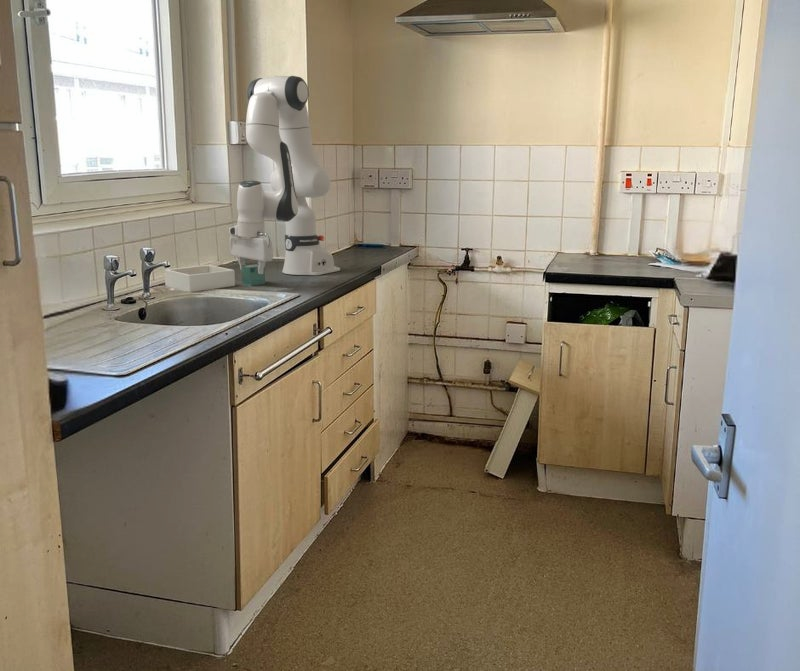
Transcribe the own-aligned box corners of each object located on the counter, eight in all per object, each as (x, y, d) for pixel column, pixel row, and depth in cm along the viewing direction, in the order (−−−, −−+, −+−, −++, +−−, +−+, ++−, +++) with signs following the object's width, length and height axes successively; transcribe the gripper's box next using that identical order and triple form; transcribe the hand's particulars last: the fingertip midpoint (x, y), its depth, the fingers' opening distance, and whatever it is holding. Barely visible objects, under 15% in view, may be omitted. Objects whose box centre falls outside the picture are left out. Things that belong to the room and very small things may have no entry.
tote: (210, 282, 274) (209, 264, 273) (235, 287, 264) (234, 270, 263) (165, 287, 262) (164, 269, 261) (190, 294, 252) (189, 275, 251)
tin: (257, 284, 271) (256, 264, 270) (265, 286, 268) (264, 265, 267) (242, 286, 267) (241, 266, 266) (250, 288, 264) (249, 267, 262)
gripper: (277, 233, 258) (277, 275, 261) (241, 227, 272) (242, 267, 275) (261, 234, 254) (262, 276, 257) (225, 228, 268) (226, 269, 271)
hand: (251, 272), depth 266 cm, fingers open, 8 cm apart
